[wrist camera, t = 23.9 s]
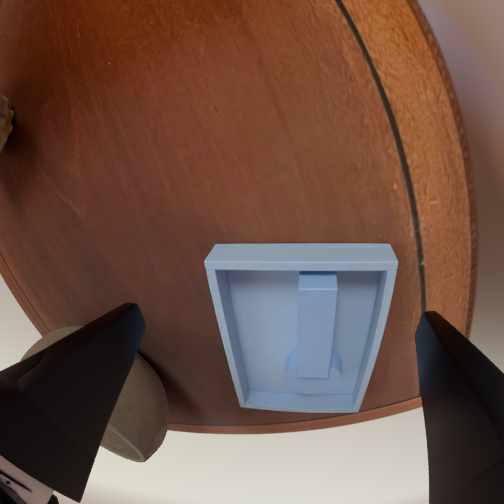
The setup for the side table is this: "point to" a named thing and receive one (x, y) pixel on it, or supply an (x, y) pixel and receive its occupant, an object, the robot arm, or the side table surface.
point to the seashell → (5, 120)
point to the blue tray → (286, 317)
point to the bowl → (129, 407)
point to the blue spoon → (315, 336)
